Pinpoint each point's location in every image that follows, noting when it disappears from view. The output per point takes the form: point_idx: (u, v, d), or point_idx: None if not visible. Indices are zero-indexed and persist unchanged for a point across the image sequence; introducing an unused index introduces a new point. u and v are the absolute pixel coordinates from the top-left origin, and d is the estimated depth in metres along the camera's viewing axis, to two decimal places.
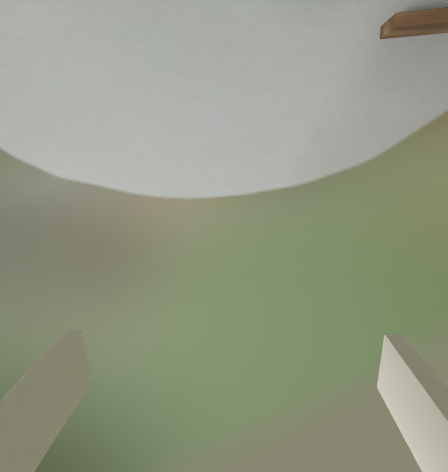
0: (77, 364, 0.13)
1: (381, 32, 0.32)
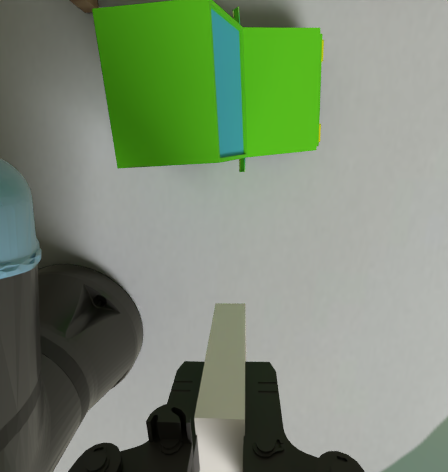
0: None
1: None
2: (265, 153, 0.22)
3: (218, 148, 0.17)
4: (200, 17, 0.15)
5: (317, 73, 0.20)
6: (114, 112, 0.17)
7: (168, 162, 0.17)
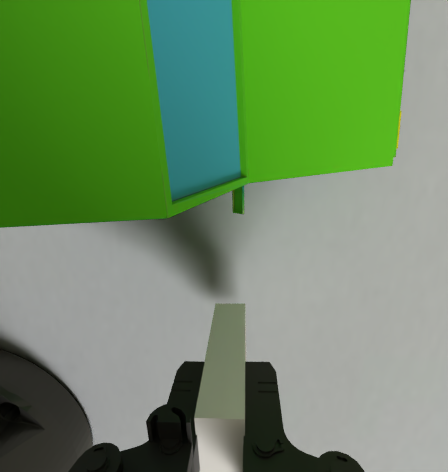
0: None
1: None
2: (286, 174, 0.10)
3: (164, 178, 0.06)
4: None
5: None
6: None
7: (26, 218, 0.06)
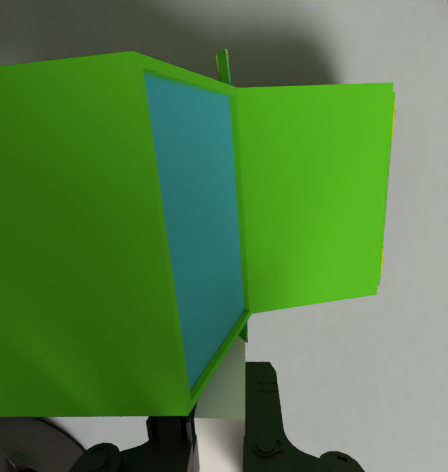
0: None
1: None
2: (284, 305, 0.12)
3: (185, 387, 0.07)
4: (115, 106, 0.05)
5: (384, 166, 0.10)
6: None
7: (74, 412, 0.08)
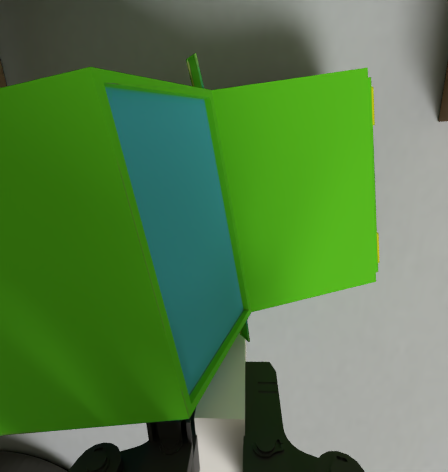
0: None
1: None
2: (283, 301, 0.12)
3: (183, 390, 0.07)
4: (80, 122, 0.06)
5: (368, 152, 0.10)
6: None
7: (78, 424, 0.08)
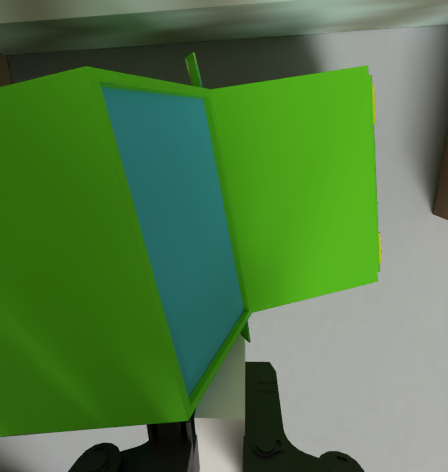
0: None
1: None
2: (284, 301, 0.12)
3: (182, 392, 0.07)
4: (76, 122, 0.05)
5: (369, 151, 0.10)
6: None
7: (77, 426, 0.08)
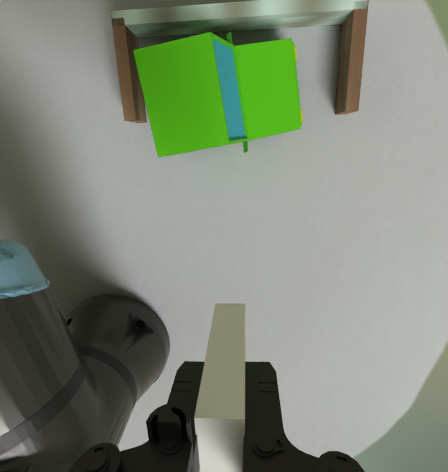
0: None
1: (342, 113, 0.32)
2: (262, 135, 0.29)
3: (227, 133, 0.24)
4: (206, 46, 0.22)
5: (293, 71, 0.27)
6: (153, 118, 0.24)
7: (193, 148, 0.25)
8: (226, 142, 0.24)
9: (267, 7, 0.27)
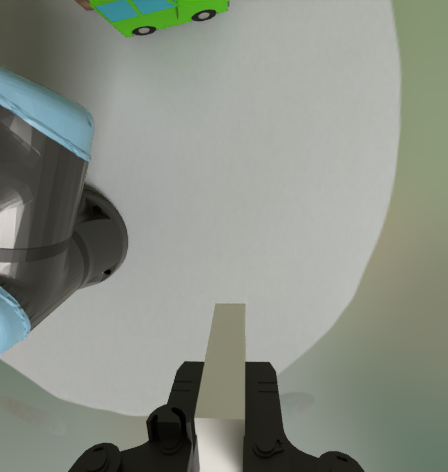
0: None
1: None
2: (191, 3, 0.32)
3: None
4: None
5: None
6: None
7: None
8: None
9: None
